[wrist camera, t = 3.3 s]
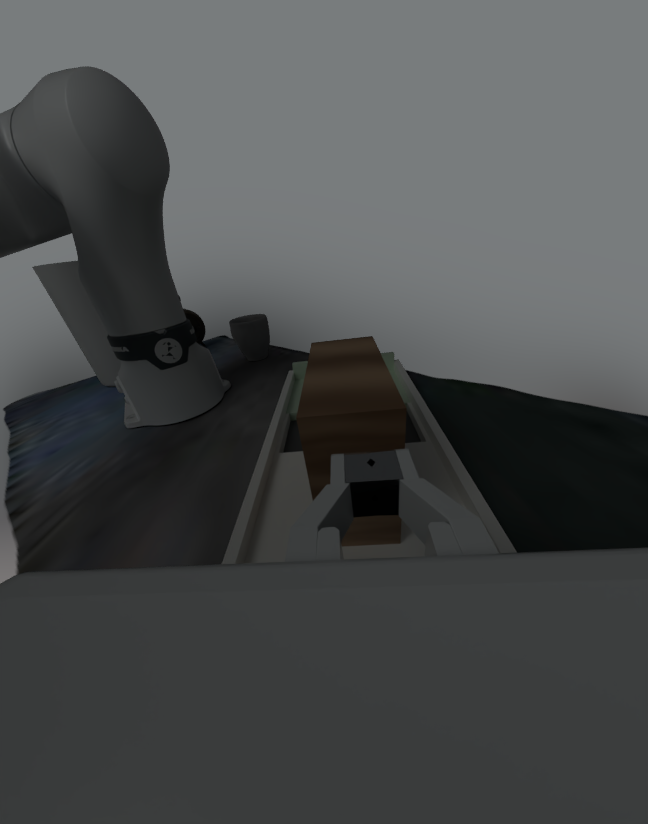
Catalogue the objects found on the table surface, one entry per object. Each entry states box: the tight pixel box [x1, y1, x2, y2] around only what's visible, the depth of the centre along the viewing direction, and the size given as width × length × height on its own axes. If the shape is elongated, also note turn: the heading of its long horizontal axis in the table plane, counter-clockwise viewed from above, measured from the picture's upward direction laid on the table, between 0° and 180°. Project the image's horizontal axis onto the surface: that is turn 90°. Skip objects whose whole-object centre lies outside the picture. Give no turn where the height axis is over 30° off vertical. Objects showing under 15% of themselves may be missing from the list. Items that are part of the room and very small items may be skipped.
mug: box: [229, 314, 270, 361], centre depth 67 cm, size 12×9×10 cm
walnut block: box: [296, 336, 407, 547], centre depth 24 cm, size 14×6×12 cm, turn 179°
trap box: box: [222, 352, 517, 564], centre depth 34 cm, size 36×20×4 cm, turn 179°
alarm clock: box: [178, 295, 205, 346], centre depth 78 cm, size 11×5×16 cm, turn 137°
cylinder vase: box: [33, 261, 121, 387], centre depth 61 cm, size 12×12×25 cm
